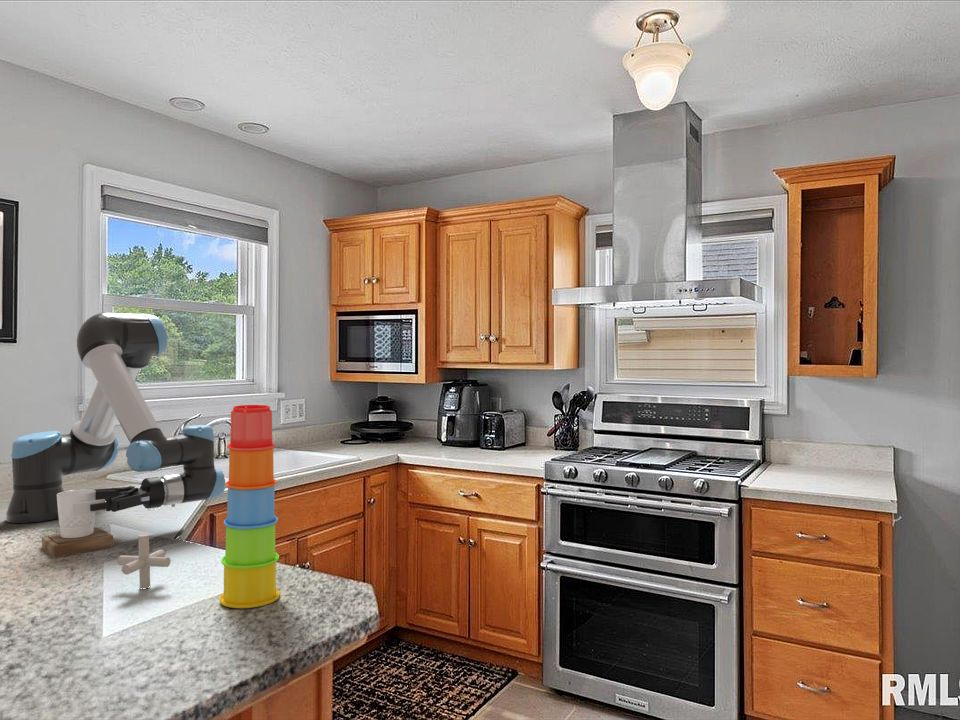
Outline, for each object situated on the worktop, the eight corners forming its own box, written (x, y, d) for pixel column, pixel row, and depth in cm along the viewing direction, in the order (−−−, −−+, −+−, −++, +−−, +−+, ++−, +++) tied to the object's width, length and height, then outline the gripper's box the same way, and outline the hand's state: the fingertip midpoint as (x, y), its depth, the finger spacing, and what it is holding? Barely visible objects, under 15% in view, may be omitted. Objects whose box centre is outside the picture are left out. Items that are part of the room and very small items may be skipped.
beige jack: (151, 598, 127) (149, 543, 127) (103, 595, 129) (101, 541, 129) (184, 580, 137) (183, 529, 137) (139, 578, 139) (138, 527, 139)
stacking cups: (275, 586, 132) (270, 402, 132) (284, 603, 123) (279, 405, 122) (217, 595, 128) (211, 405, 127) (222, 613, 118) (216, 409, 118)
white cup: (59, 533, 165) (58, 491, 165) (97, 529, 168) (96, 487, 168) (55, 541, 158) (54, 497, 158) (95, 536, 161) (94, 493, 161)
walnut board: (41, 547, 164) (41, 535, 164) (98, 537, 172) (98, 526, 172) (54, 557, 155) (54, 545, 155) (113, 546, 163) (113, 534, 163)
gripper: (179, 513, 167) (80, 530, 153) (145, 499, 185) (52, 513, 171) (178, 482, 167) (79, 496, 152) (144, 471, 185) (52, 482, 171)
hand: (65, 505), depth 162 cm, fingers open, 13 cm apart
